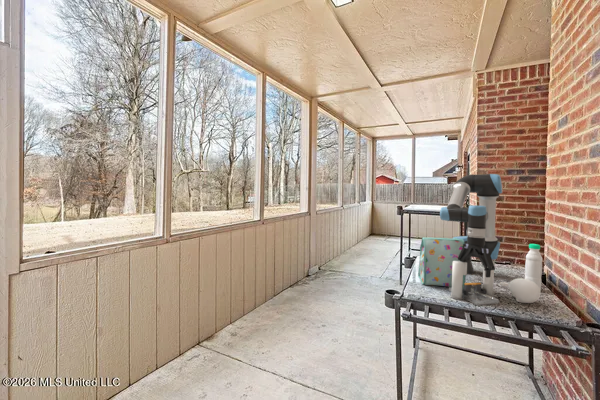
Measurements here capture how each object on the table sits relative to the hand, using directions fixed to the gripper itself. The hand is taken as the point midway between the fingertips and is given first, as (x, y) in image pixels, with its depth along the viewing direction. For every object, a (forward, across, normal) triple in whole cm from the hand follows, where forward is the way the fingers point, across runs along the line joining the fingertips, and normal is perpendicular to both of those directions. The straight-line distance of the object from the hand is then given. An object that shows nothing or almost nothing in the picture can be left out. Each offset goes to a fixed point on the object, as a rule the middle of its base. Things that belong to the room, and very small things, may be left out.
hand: (474, 279), depth 136 cm
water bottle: (+10, -6, +43) cm, 45 cm away
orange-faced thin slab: (+7, -1, 0) cm, 7 cm away
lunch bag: (+10, -21, -2) cm, 24 cm away
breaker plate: (+9, -1, 0) cm, 9 cm away
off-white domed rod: (+9, -1, +9) cm, 13 cm away
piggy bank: (+10, +6, +22) cm, 25 cm away
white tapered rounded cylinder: (+9, -1, -9) cm, 13 cm away
